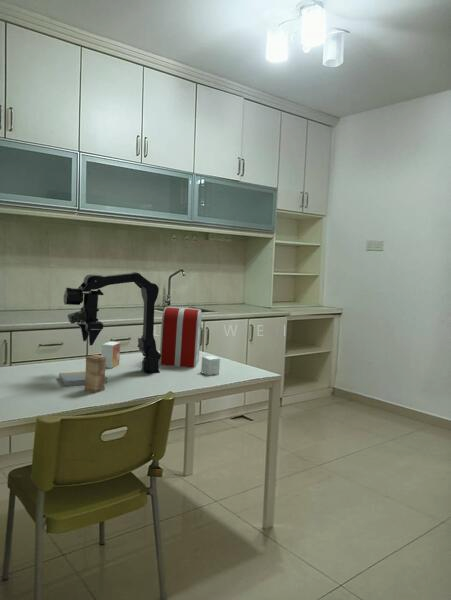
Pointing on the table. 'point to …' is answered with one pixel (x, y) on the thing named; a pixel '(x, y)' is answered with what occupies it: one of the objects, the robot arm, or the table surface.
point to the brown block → (95, 373)
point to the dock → (74, 378)
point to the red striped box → (180, 337)
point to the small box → (111, 353)
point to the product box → (210, 365)
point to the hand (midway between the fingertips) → (87, 343)
